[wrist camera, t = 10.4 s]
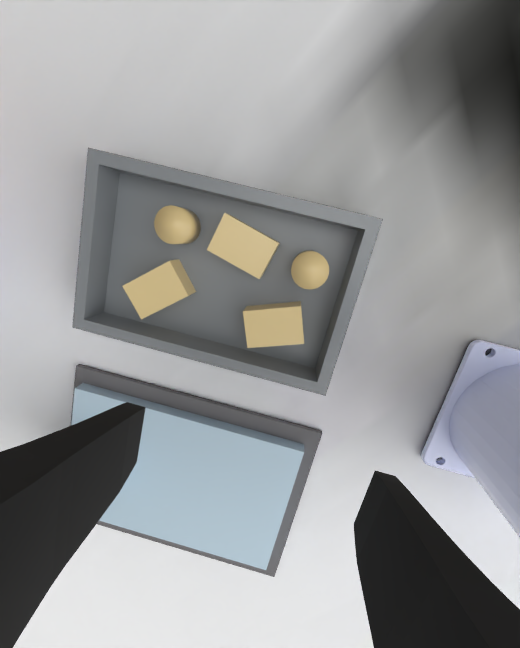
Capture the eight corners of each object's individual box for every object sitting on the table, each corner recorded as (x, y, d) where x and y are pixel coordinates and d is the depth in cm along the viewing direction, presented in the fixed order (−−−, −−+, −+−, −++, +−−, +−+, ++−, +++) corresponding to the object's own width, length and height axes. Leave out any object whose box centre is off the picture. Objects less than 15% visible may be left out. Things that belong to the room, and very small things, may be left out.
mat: (321, 430, 20) (321, 433, 20) (274, 572, 24) (274, 576, 23) (79, 364, 21) (76, 365, 21) (65, 510, 24) (62, 513, 24)
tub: (370, 222, 17) (382, 218, 15) (321, 376, 19) (325, 395, 17) (116, 160, 18) (88, 147, 15) (99, 316, 20) (72, 327, 18)
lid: (304, 444, 20) (305, 503, 16) (267, 559, 23) (259, 639, 18) (82, 382, 21) (22, 422, 16) (70, 501, 24) (15, 564, 19)
